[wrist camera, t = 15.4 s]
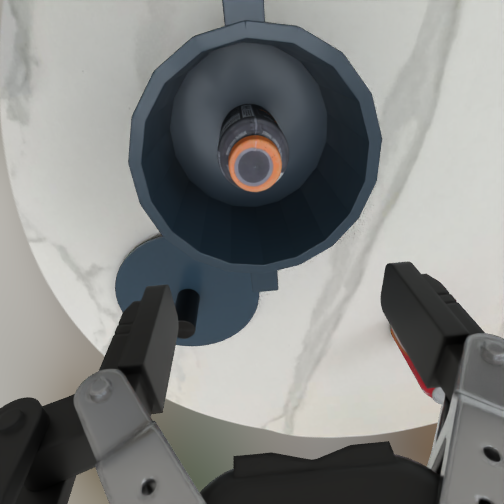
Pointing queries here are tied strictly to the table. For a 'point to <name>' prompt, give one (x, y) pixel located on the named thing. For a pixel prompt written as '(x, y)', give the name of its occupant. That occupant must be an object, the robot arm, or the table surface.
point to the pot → (290, 122)
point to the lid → (189, 291)
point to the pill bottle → (252, 148)
